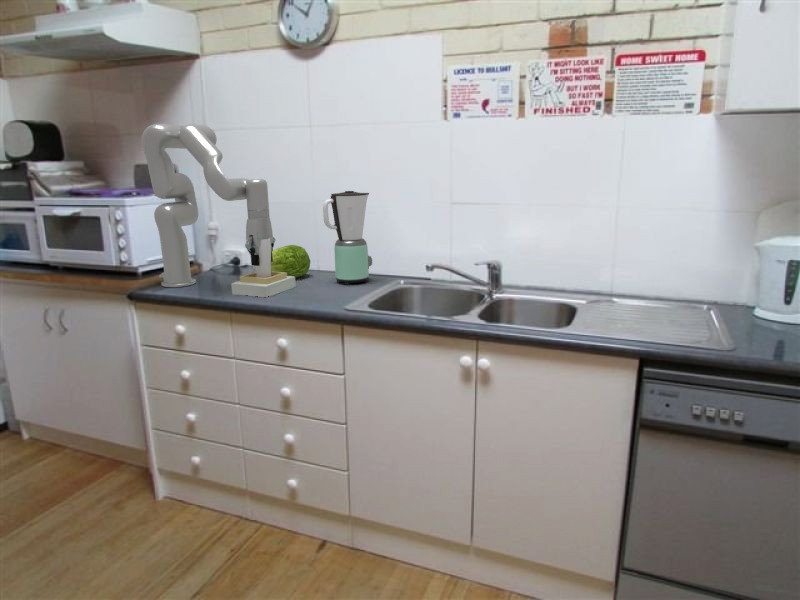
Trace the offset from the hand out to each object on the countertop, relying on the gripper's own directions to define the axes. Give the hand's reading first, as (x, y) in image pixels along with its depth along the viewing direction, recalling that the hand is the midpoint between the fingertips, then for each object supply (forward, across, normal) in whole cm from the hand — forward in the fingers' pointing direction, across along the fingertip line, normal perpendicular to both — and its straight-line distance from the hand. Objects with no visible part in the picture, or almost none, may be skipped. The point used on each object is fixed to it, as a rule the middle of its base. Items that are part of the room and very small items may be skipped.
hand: (262, 263), depth 196 cm
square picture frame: (+10, 0, 0) cm, 10 cm away
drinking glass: (+6, -1, 0) cm, 6 cm away
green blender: (+10, -24, +23) cm, 35 cm away
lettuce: (+10, -23, -9) cm, 27 cm away
